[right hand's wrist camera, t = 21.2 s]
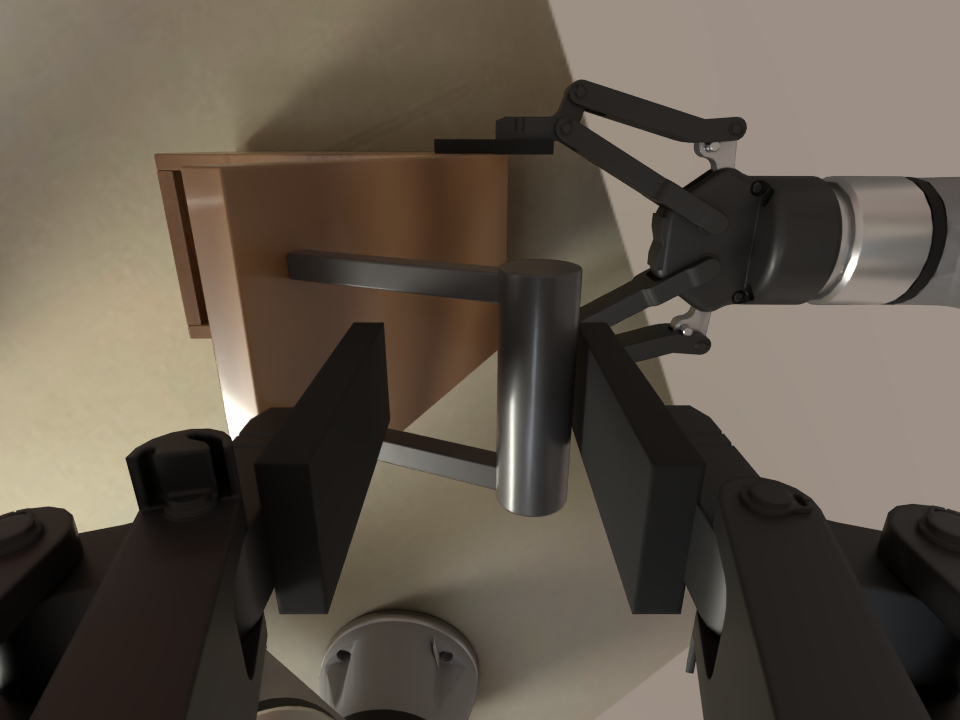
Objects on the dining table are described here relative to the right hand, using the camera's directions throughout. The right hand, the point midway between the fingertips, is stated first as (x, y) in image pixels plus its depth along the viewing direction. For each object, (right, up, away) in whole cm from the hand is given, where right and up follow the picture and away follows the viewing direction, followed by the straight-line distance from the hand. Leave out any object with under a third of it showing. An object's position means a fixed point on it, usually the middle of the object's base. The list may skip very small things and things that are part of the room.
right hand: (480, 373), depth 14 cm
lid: (-3, +3, +8) cm, 9 cm away
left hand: (-2, +8, +19) cm, 21 cm away
